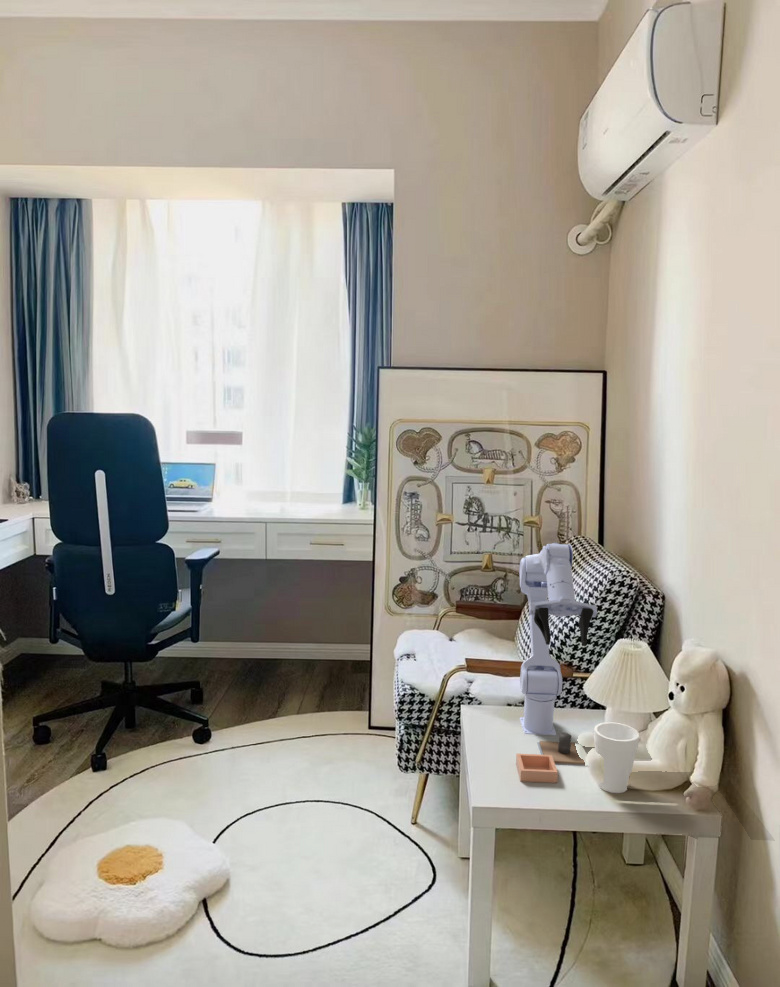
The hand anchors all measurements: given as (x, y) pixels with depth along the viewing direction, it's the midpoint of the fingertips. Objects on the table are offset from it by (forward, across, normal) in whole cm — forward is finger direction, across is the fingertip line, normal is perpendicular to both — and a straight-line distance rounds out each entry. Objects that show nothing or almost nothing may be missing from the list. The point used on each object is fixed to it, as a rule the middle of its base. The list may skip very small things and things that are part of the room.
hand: (566, 643), depth 175 cm
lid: (+10, +4, +33) cm, 35 cm away
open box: (+18, -4, +27) cm, 33 cm away
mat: (+11, +4, +33) cm, 35 cm away
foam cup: (+22, +12, +24) cm, 35 cm away
